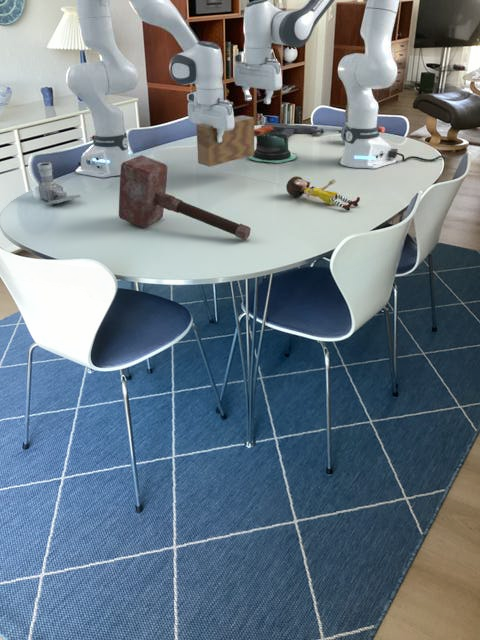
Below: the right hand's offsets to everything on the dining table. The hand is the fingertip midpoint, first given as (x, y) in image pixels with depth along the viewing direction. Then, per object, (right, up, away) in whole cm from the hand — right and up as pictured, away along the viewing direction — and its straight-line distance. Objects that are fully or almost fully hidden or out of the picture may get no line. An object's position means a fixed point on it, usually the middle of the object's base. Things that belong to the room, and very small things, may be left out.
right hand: (257, 102), depth 187 cm
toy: (+45, +5, +59) cm, 75 cm away
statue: (+49, +18, +82) cm, 98 cm away
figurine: (+20, -36, -8) cm, 42 cm away
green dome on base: (+7, -6, +42) cm, 43 cm away
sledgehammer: (-22, -48, -27) cm, 59 cm away
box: (-11, -17, +9) cm, 22 cm away
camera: (-67, -34, -2) cm, 75 cm away
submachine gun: (+16, +14, +76) cm, 79 cm away
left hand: (-16, -12, +2) cm, 20 cm away
